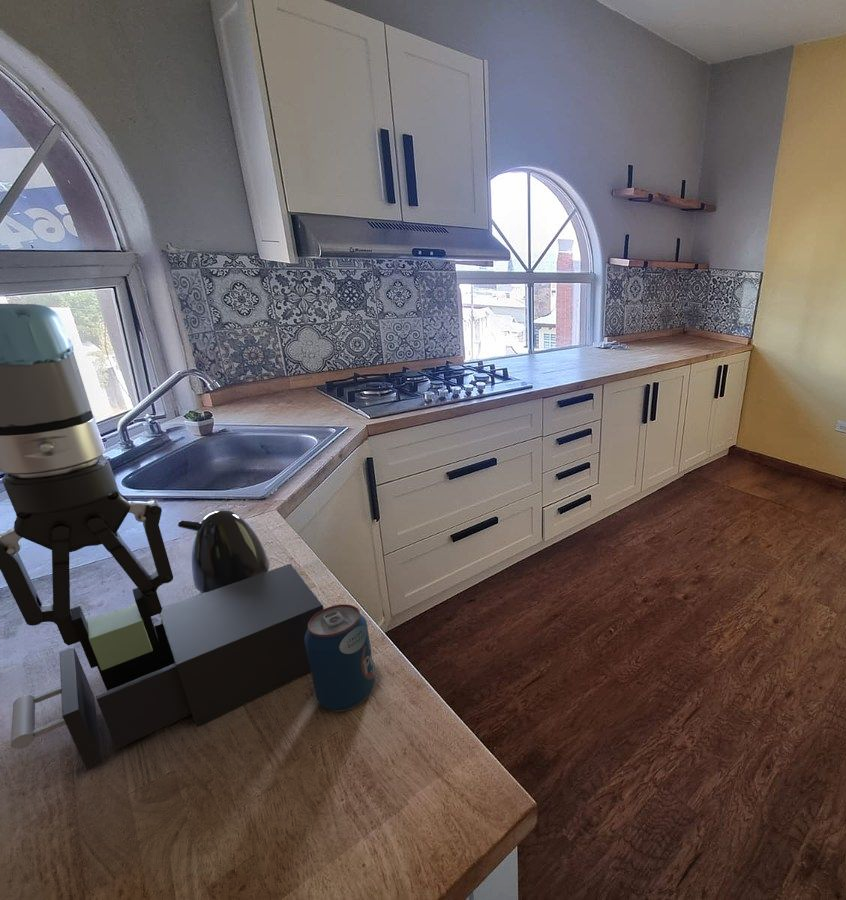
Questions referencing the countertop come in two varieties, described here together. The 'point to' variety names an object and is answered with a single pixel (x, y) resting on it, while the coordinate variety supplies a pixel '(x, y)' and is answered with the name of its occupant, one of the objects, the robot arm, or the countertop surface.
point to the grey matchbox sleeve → (240, 640)
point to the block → (118, 636)
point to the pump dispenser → (224, 551)
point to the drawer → (109, 701)
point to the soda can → (340, 657)
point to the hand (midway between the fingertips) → (124, 648)
